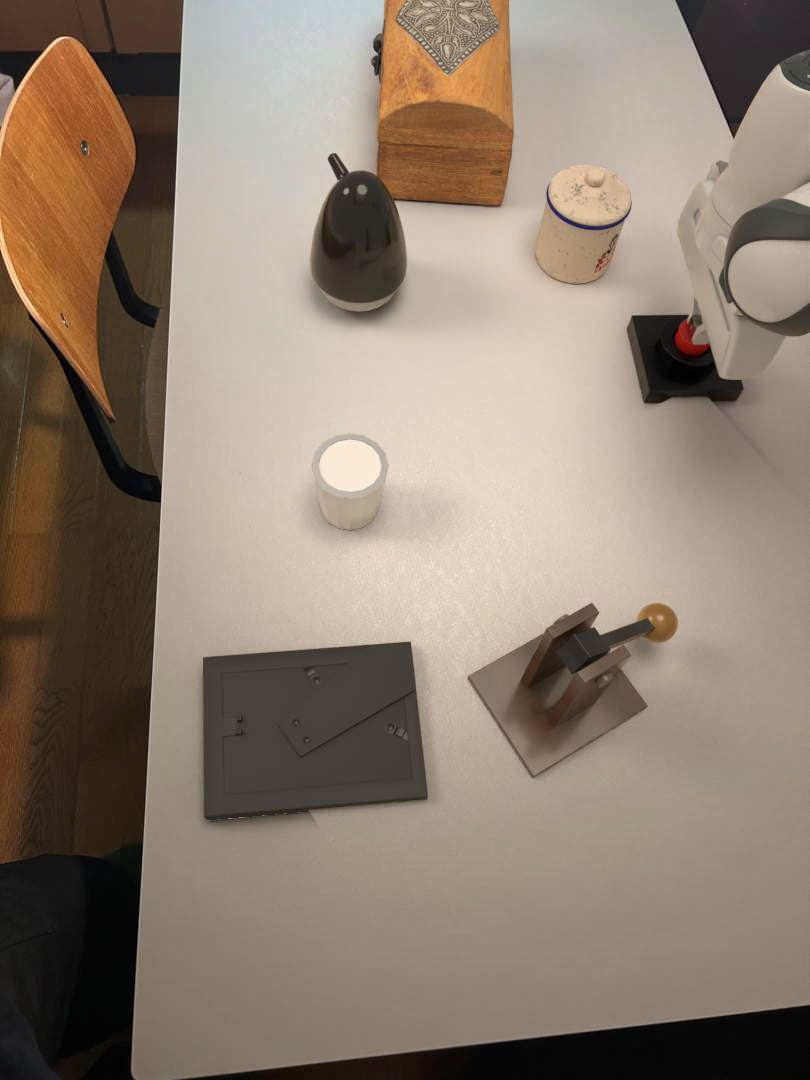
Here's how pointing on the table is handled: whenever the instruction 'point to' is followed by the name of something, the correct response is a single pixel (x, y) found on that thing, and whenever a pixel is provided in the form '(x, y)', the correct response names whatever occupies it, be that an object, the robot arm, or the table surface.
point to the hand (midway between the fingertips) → (696, 333)
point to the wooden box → (445, 100)
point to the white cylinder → (349, 479)
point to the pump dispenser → (358, 241)
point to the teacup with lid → (581, 223)
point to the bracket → (556, 695)
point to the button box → (674, 363)
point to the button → (688, 341)
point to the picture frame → (310, 730)
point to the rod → (618, 637)
